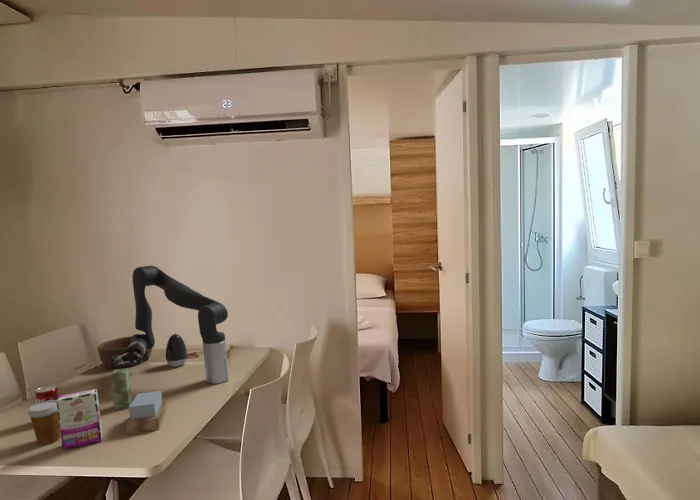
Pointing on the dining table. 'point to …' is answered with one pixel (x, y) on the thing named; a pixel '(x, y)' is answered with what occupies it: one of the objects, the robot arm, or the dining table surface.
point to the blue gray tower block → (145, 405)
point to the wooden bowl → (115, 351)
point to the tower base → (147, 422)
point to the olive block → (121, 388)
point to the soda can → (46, 394)
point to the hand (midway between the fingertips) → (126, 363)
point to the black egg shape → (176, 351)
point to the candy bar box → (79, 419)
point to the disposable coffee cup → (45, 422)
